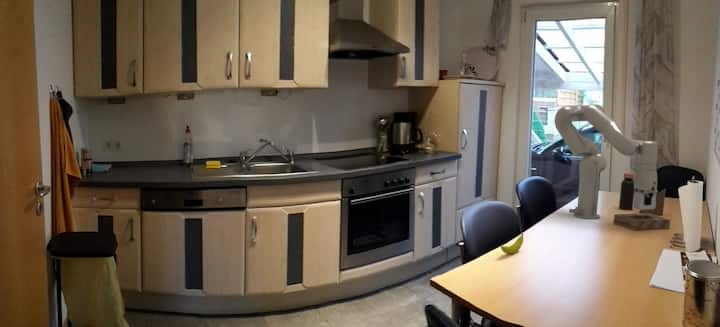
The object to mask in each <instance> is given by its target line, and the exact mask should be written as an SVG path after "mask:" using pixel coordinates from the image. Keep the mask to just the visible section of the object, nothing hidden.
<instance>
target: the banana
mask: <svg viewBox="0 0 720 327" xmlns="http://www.w3.org/2000/svg"><path fill="white" fill-rule="evenodd" d="M524 235H525V234H524V233H522V234H521V235H519V236H518V238H517V239H516V241H515V242H514V243H513V244H511V245H508V246H506V245H505V246H504V245H501V246H500V250H501V251H502V252H503V253H504V254H507V255H511V254H516V253H517V252H519V250H520V249H521V247H522V246H523V243H524Z"/></svg>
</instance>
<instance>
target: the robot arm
mask: <svg viewBox="0 0 720 327" xmlns="http://www.w3.org/2000/svg"><path fill="white" fill-rule="evenodd" d="M574 122H576V123H577V122H587V123H589V124H590V125H591V126H593V127H594V128H595V129H596V130H597V131H598V132H599V133H601V135H602V136H603V137H604V138H605V139H606V141H607V143H609V145H611V146H612V147H613V148H614V149H615V150H616V151H618V152H619V153H620V154H621V155H623V156H627V157H631V156H635V155H638V158H639V159H638V164H637V165H638V168H637V169H636V170H635V174H634V179H633V181H634V191H635V192H643V191H646V195H647V197H646V198H645V205H651V202H652V197H653V196H654V195H655V194H656V195H657V194H658V193H659V191H658V188H657V187H658V172H657V163H658V151H659V143H658V141H655V140H654V141H653V140H641V139H633V138H632V139H629V138H628V137H627V136H625V135H624V133H622V131H620V129H619V128H618V124H617V122H616V121H615V120H614V119H613V118H611V117H610V116H609V115H608V114H607V113H606V110H605V108H604V107H603V106H602V105H600V104H596V103H593V104H588V105H585V104H584V105H564V106H562V107H560V108H559V109H558V110H557V112H556V113H555V116H554V126H555V129H556V130H557V132H558V134H559V135H560V136H561V138H562V140H563V141H564V143H565V144H566V146H567V147H568V150H570V152H571V154H572V155H573V156H575V157H581V158H582V160H580V162H579V167H578V168H579V170H578V171H579V182H578V183H579V184H578V193H577V194H578V197H577V206H575V208H570V209H568V212H569V214H570V213H571V214H573V216H575V217H577V218H579V219H580V218H581V219H588V220H597V219H600V218H601V215H600V214H599V213H598V206H599V196H600V195H599V191H600V173H601V172H604V171H605V169H606V168H607V160H606V158H605V156H604V155H603V153H602V152H601V150H600V149H599V148H598V146H597V144H596V142H594V141H593V140H592V139H590V138H588V137H583V136H582V135H581V133H580V131H579V130H578V128H577V127H576V125H574V124H573V123H574ZM649 192H650V194H649Z"/></svg>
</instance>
